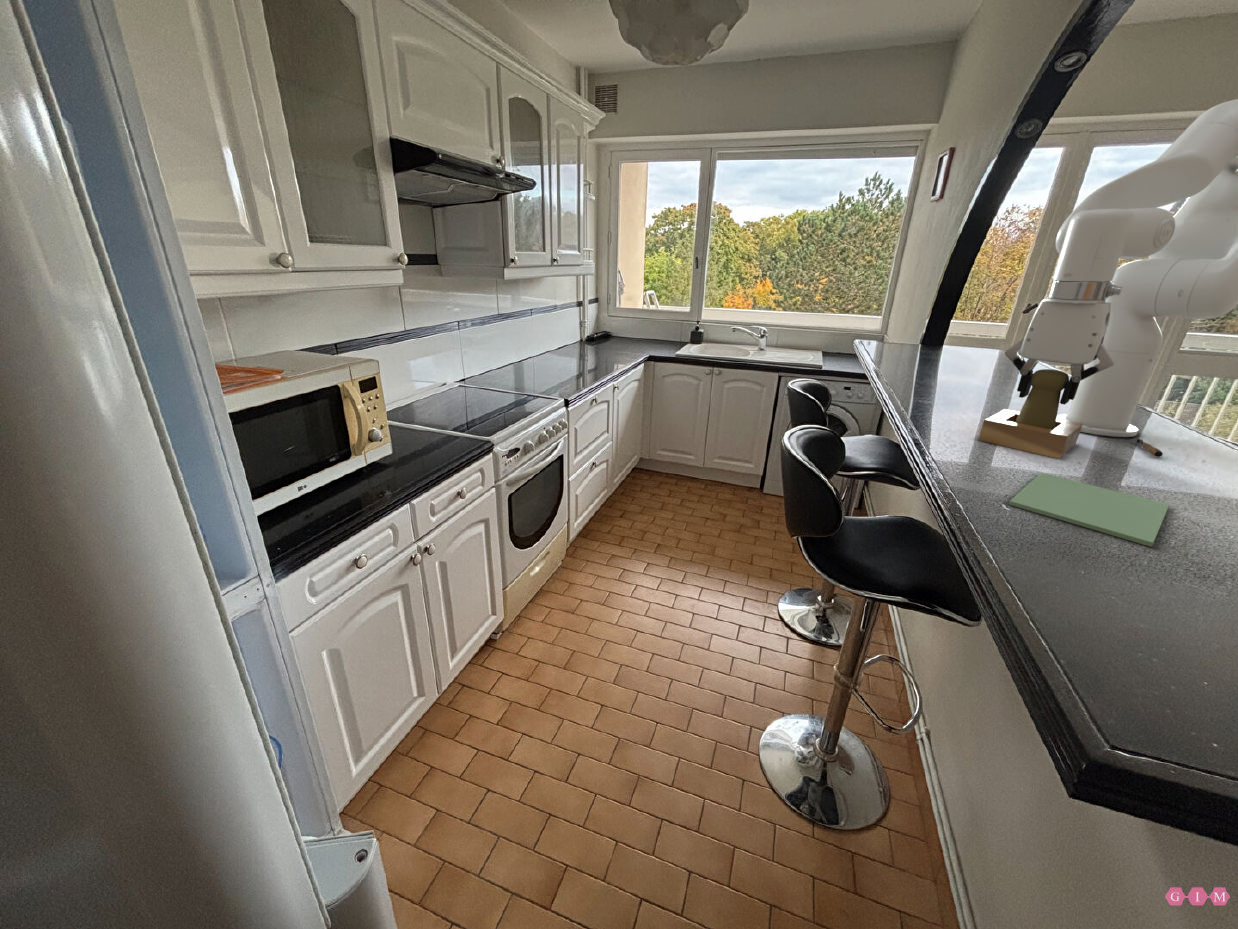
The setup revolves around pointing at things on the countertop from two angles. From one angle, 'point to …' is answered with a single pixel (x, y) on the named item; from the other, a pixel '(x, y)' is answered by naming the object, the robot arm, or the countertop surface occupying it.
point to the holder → (1030, 434)
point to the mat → (1093, 508)
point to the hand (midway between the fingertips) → (1043, 398)
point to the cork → (1043, 399)
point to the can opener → (1150, 448)
